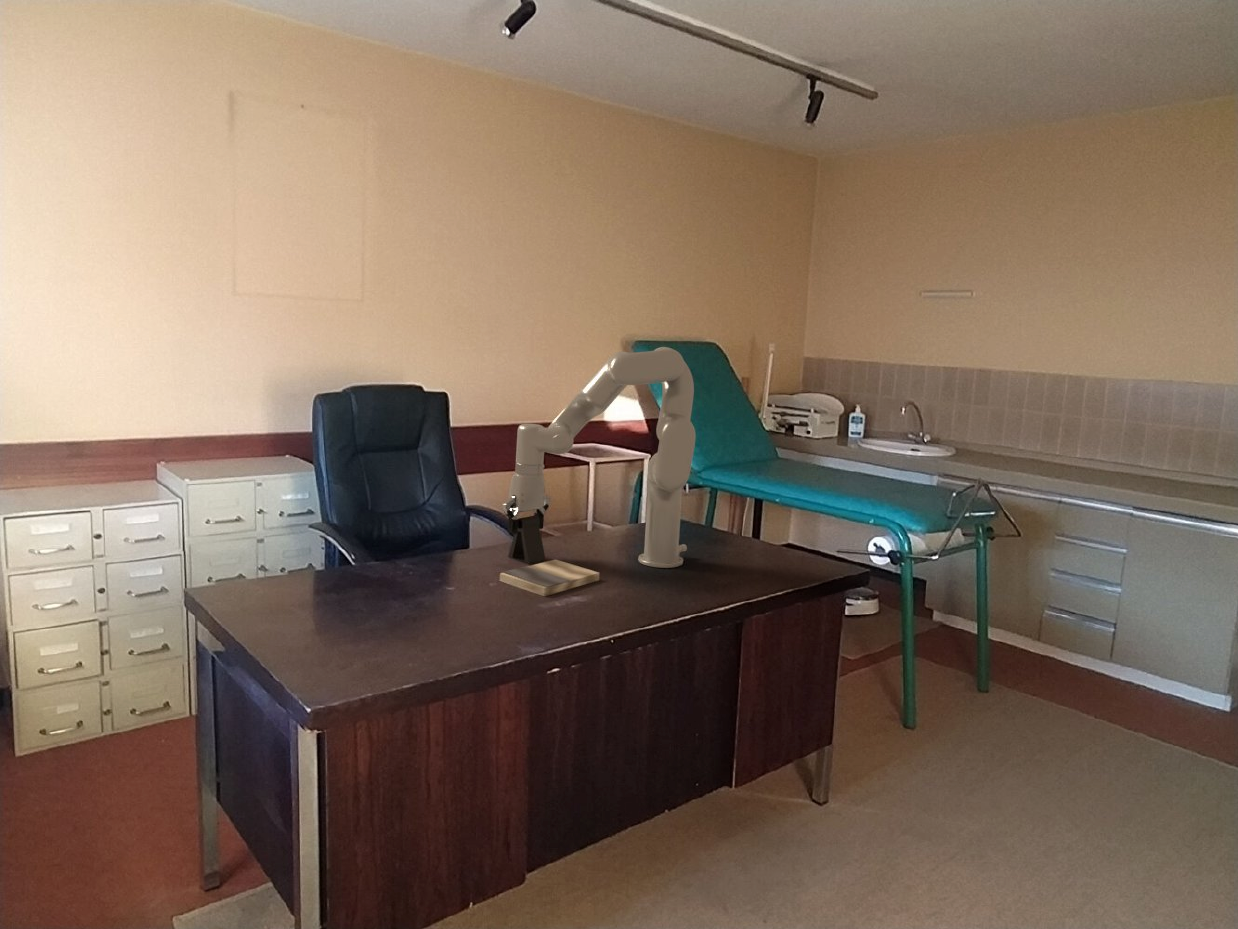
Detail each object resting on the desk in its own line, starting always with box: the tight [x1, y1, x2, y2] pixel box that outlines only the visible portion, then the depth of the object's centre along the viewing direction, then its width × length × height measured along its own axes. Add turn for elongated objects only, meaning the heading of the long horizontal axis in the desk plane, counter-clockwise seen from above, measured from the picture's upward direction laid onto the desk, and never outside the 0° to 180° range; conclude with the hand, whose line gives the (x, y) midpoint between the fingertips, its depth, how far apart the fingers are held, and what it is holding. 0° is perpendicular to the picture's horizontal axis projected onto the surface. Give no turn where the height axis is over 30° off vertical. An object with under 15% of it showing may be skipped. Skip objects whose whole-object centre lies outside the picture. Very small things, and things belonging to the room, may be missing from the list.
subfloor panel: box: [499, 559, 600, 597], centre depth 229 cm, size 20×16×2 cm
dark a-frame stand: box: [507, 515, 547, 566], centre depth 247 cm, size 9×6×12 cm, turn 46°
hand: (525, 530), depth 246 cm, fingers open, 9 cm apart
